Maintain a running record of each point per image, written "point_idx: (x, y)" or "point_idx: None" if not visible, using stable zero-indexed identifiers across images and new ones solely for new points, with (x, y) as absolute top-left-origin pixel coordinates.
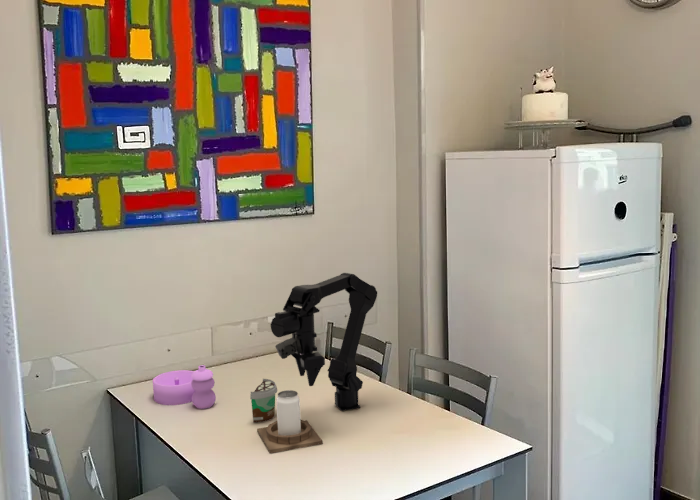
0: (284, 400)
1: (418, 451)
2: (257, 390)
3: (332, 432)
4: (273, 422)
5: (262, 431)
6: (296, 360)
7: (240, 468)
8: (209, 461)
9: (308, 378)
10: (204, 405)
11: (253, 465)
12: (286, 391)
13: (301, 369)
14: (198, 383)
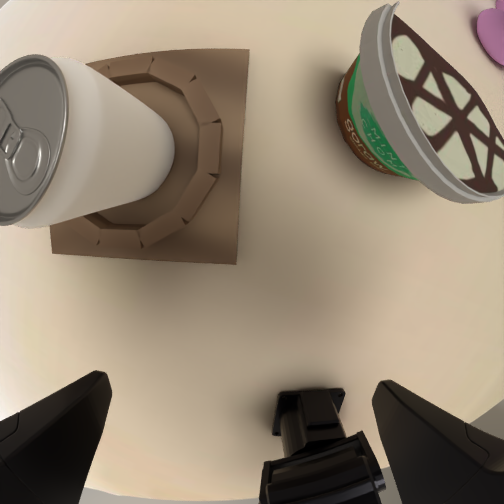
0: None
1: (22, 400)
2: (436, 65)
3: (125, 312)
4: (206, 97)
5: (210, 60)
6: (481, 461)
7: (48, 10)
8: None
9: (34, 404)
10: (478, 23)
11: (40, 36)
12: (63, 136)
13: (401, 427)
14: None
